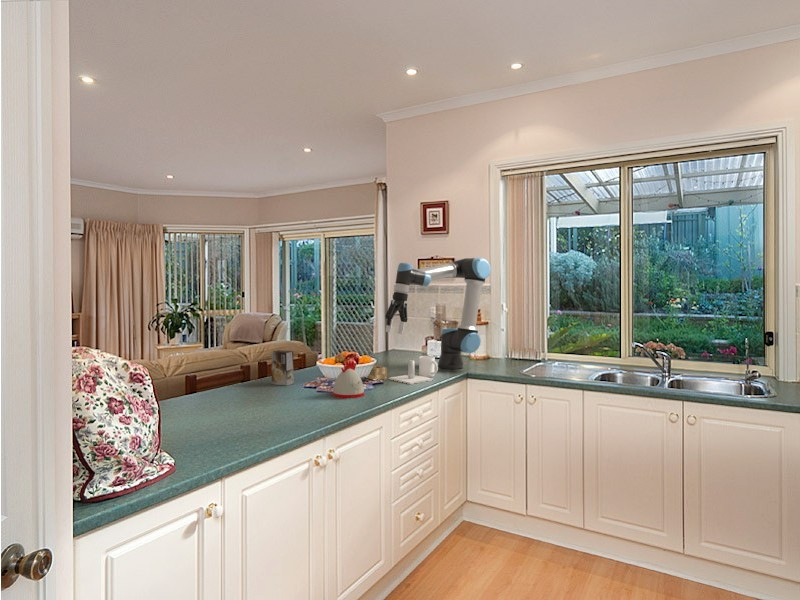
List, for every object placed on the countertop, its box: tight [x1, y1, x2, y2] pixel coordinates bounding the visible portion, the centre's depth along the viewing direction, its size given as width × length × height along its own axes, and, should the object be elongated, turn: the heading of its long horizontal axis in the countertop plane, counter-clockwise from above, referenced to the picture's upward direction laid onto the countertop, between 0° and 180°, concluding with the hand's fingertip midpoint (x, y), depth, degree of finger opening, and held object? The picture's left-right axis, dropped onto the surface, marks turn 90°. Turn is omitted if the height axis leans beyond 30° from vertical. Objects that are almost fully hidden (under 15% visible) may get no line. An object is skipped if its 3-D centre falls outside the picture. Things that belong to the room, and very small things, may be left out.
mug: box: [418, 355, 439, 378], centre depth 277 cm, size 12×8×10 cm
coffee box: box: [270, 349, 295, 387], centre depth 253 cm, size 9×6×16 cm
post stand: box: [388, 359, 434, 385], centre depth 267 cm, size 16×16×10 cm
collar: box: [368, 365, 388, 380], centre depth 270 cm, size 8×8×6 cm
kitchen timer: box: [332, 361, 365, 399], centre depth 232 cm, size 14×14×15 cm
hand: (394, 333), depth 270 cm, fingers open, 13 cm apart
